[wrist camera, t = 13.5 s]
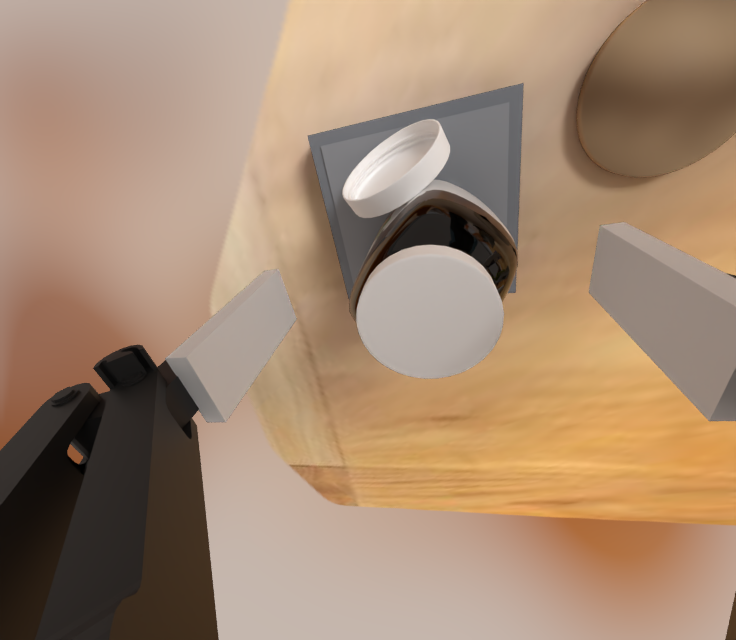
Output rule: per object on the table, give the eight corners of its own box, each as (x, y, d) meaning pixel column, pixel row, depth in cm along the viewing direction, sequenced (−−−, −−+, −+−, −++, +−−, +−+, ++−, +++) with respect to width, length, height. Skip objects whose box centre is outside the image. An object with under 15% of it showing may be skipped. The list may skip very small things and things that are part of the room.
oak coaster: (587, 8, 18) (595, 2, 18) (805, -53, 16) (826, -63, 15) (568, 187, 23) (573, 189, 22) (734, 159, 21) (747, 161, 20)
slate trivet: (317, 135, 24) (306, 135, 22) (513, 87, 21) (524, 82, 19) (356, 297, 31) (351, 310, 29) (508, 280, 28) (516, 293, 25)
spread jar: (426, 316, 28) (428, 418, 18) (315, 246, 26) (248, 316, 16) (532, 195, 22) (623, 249, 12) (396, 92, 20) (369, 55, 10)
